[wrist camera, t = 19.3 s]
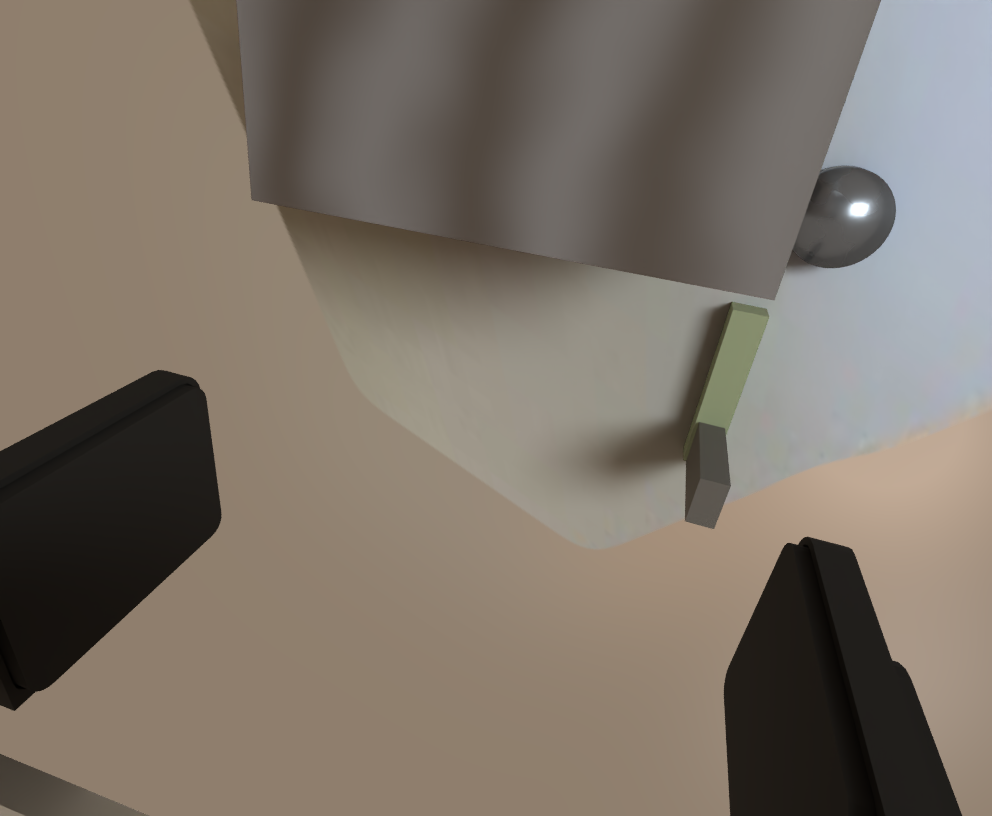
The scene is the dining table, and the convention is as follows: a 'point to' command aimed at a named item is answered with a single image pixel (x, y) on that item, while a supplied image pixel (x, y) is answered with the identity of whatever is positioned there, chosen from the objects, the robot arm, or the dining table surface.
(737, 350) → the scraper tool
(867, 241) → the grey rounded piece
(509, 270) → the dining table surface
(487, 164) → the walnut cabinet
